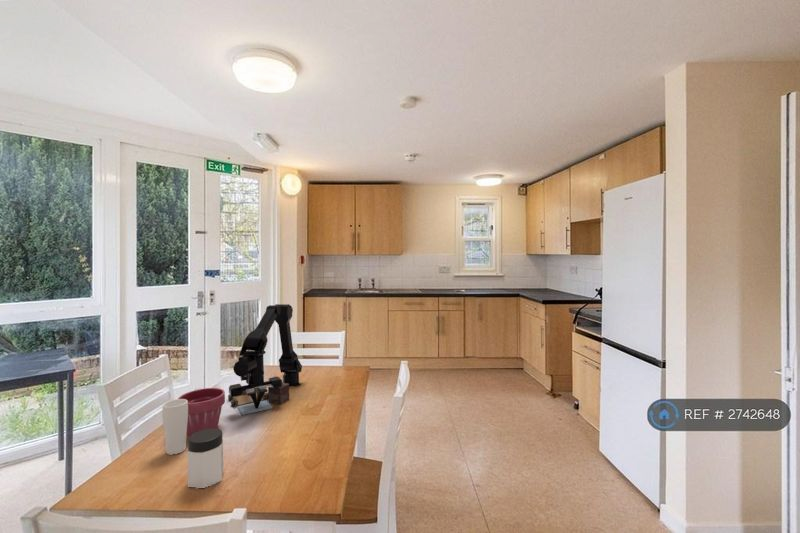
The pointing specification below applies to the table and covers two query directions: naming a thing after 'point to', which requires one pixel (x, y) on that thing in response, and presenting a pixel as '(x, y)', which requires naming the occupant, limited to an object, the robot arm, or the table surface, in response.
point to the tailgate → (251, 408)
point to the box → (278, 394)
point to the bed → (244, 399)
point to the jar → (205, 458)
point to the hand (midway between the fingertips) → (256, 408)
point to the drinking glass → (175, 425)
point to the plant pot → (203, 408)
